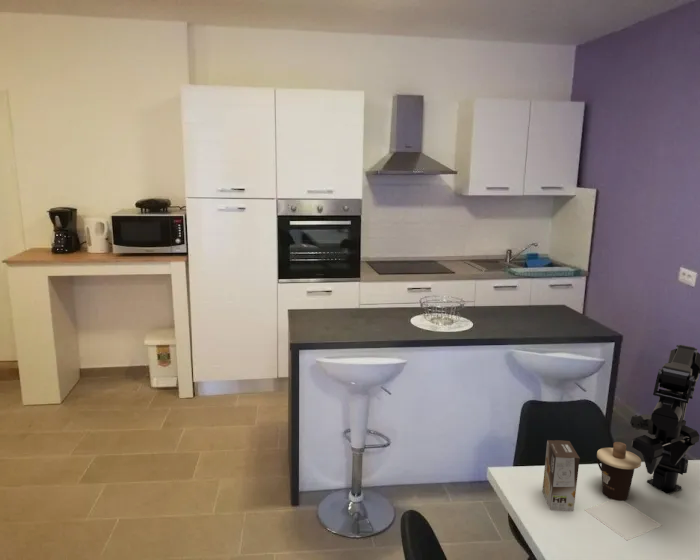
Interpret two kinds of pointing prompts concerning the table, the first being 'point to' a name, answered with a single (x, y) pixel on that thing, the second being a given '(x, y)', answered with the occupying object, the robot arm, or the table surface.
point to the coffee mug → (615, 481)
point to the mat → (622, 518)
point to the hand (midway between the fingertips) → (661, 469)
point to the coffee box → (560, 475)
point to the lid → (619, 457)
